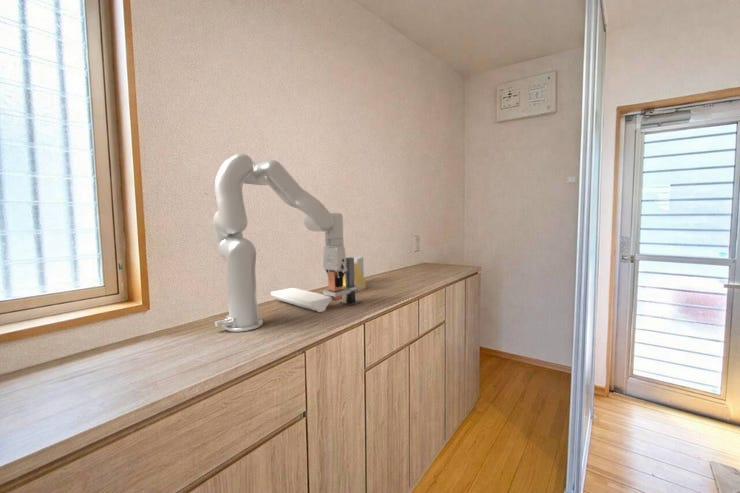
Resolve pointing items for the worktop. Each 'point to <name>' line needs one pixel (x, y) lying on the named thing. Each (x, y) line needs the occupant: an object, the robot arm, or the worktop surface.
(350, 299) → the rosette post
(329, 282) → the orange-brown rectangular block
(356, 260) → the skincare box
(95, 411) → the worktop surface
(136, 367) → the worktop surface
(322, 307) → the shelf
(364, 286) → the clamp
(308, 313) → the worktop surface
